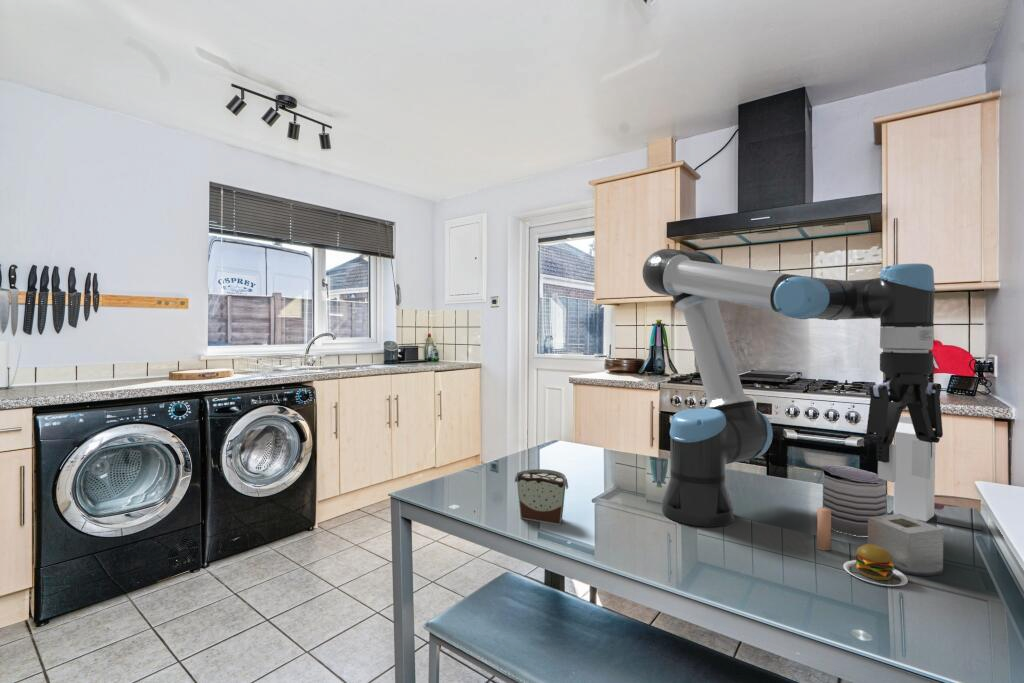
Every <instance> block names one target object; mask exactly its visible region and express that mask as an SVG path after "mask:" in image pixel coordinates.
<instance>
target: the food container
mask: <svg viewBox="0 0 1024 683" xmlns="http://www.w3.org/2000/svg"><path fill="white" fill-rule="evenodd" d="M514 477H515V478H514V483H517V493H518V504H519V505H518V506H519V517H520V519H522V520H523V519H524V520H528V521H534V522H540V523H545V524H552V525H557V526H561V525H562V524H563V513H564V506H565V504H564V503H565V494H566V490H568V489H569V483H568V482H569V481H568V479H567V477H566V475H565V473H562V472H560V471H556V470H551V469H544V468H543V469H542V468H541V469H540V468H539V469H537V468H536V469H526V470H520V471H518V472H516V475H515V476H514Z"/></svg>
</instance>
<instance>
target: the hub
mask: <svg viewBox="0 0 1024 683" xmlns="http://www.w3.org/2000/svg"><path fill="white" fill-rule="evenodd" d="M903 527H904V526H903ZM906 528H908V527H906ZM892 563H893V565H894V567H893V568H894V569H896V570H898V571H900V572H901V573H902V572H903V574H906V573H907V575H911V574H912V575H911V576H920V577H934V576H940V575H942V574H943V572H944V562H943V563H942V564H934V565H927V566H920V567H913V568H907V567H905V566H903V565H901V564H898V563H896V562H894V561H892Z"/></svg>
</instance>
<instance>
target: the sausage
mask: <svg viewBox="0 0 1024 683" xmlns="http://www.w3.org/2000/svg"><path fill="white" fill-rule="evenodd" d="M816 517H817V525H816V527H817V528H816V529H817V530H816V532H817V533H816V535H817V536H816V540H817V541H816V542H817V543H816V548H817V547H818V548H820V549H823V550H830V549H831V548H832V545H831V544H832V541H831V540H832V529H831V510H830V509H827V508H823V507H818V508H817V516H816ZM818 548H817V549H818ZM820 549H819V550H820ZM823 550H822V551H823ZM830 551H831V550H830Z"/></svg>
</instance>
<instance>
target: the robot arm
mask: <svg viewBox="0 0 1024 683" xmlns="http://www.w3.org/2000/svg"><path fill="white" fill-rule="evenodd" d="M934 274H935V272H934V268H933V267H932V265H930V264H928V263H900V264H892V265H887V266H883V268H881V270H880V275H879V277H876V278H875V277H874V278H870V279H853V280H851V279H850V280H846V279H845V280H844V279H834V278H833V279H832V278H831V279H830V278H821V277H814V276H813V277H812V276H806V275H800V274H799V275H797V274H789V273H785V272H784V273H783V272H777V271H769V270H763V269H755V268H748V267H741V266H734V265H733V266H732V265H728V264H727V265H725V264H722V262H721V261H720V260H719V258H717V257H716V256H714V255H712V254H710V253H706V252H703V251H699V250H698V251H697V250H695V251H691V250H690V251H689V250H682V249H675V248H674V249H673V248H662V249H658V250H657V251H654V252H652V253H651V254H650V255H649V256H648V257H647V258H646V260H645V261H644V263H643V266H642V279H643V282H644V284H645V285H646V287H647V288H648V289H649V290H650V291H651V292H654V293H656V294H659V295H665V296H672V299H673V302H674V306H675V308H676V309H677V310H678V311H681V312H683V313H682V314H683V317H684V320H685V324H686V327H687V331H688V335H689V338H690V342H691V346H692V350H693V353H694V356H695V360H696V364H697V367H698V371H699V375H700V379H701V382H702V386H703V390H704V394H705V397H706V404H705V406H704V407H702V408H700V407H699V408H687V409H683V410H680V411H677V412H675V414H673V415H672V417H671V420H670V429H669V436H670V437H669V447H670V448H669V450H670V451H669V454H670V455H669V458H670V459H669V461H670V462H669V465H670V467H669V468H670V471H669V472H670V473H669V474H670V476H669V477H670V478H669V481H668V484H667V487H666V490H665V492H664V495H663V498H662V502H661V504H662V505H661V507H662V509H661V510H662V511H661V512H662V514H663V515H664V516H665V517H667V518H668V519H670V520H673V521H675V522H678V523H681V524H685V525H689V526H695V527H703V528H704V527H708V528H709V527H710V528H711V527H713V528H714V527H723V526H726V525H729V524H732V522H733V521H734V507H733V504H732V501H731V498H730V495H729V492H728V488H727V485H726V465H729V464H733V463H738V462H746V461H751V460H753V459H756V458H759V457H761V456H762V455H765V453H766V452H767V451H768V450H769V448H770V446H771V444H772V441H773V437H774V434H773V427H772V424H771V421H770V420H769V418H768V417H767V415H764V414H763V413H762V412H761V411H759V410H757V408H756V404H755V401H754V399H753V398H752V397H749V395H746V394H745V393H744V389H743V385H742V383H741V382H742V381H741V378H740V374H739V372H738V369H737V368H738V367H737V365H736V360H735V357H734V354H733V351H732V347H731V344H730V340H729V338H728V334H727V330H726V327H725V323H724V320H723V317H722V314H721V311H720V310H721V309H720V306H719V301H723V302H727V303H730V304H731V303H733V304H737V305H741V306H746V307H750V308H756V309H760V310H765V311H770V312H775V313H779V314H781V315H783V316H785V317H788V318H792V319H797V320H809V319H819V320H828V321H838V320H856V319H857V320H863V319H872V320H873V319H874V320H875V319H876V320H877V319H879V321H880V325H879V326H880V327H879V348H880V349H882V350H883V351H882V352H881V353H879V370H880V372H881V373H884V378H883V381H882V383H877V384H875V383H870V384H869V386H868V390H869V396H870V400H869V409H868V416H867V425H866V431H865V432H866V433H865V438H866V439H867V440H870V441H871V442H874V443H876V461H877V475H878V478H880V479H883V480H886V482H890V483H894V482H896V445H895V444H893V442H894V439H895V432H896V429H897V426H898V424H899V419H900V416H902V413H903V411H904V410H905V409H908V413H909V416H910V417H911V420H912V424H913V427H914V430H915V434H916V437H917V439H919V440H913V441H912V475H914V476H918V477H921V478H925V479H931V457H932V442H935V444H938V443H939V442H940V439H941V438H942V437H943V435H944V433H943V432H944V431H943V422H942V421H943V419H942V409H941V407H942V406H941V397H940V396H941V391H942V384H941V383H938V382H937V383H936V382H935V383H934V382H929V380H928V377H927V375H931V374H932V373H933V372H934V355H933V354H932V352H929V350H931V351H932V350H933V349H934V326H935V324H934V321H935V320H934V318H935V317H934V314H935V313H934V312H935V292H936V288H935V275H934ZM933 429H934V430H933Z"/></svg>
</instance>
